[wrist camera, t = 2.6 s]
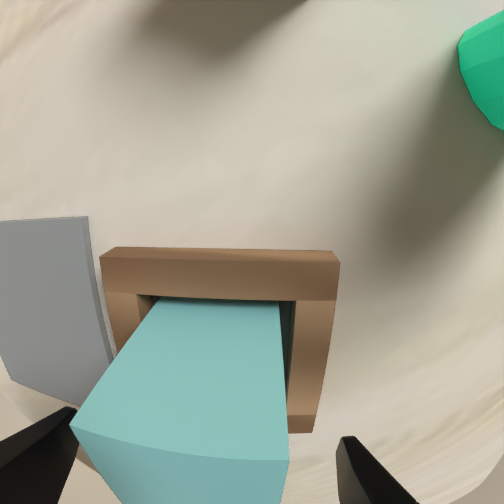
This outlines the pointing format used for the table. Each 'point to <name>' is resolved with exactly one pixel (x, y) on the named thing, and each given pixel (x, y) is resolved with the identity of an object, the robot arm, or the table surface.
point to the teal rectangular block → (193, 407)
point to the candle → (485, 66)
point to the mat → (51, 308)
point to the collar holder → (242, 288)
